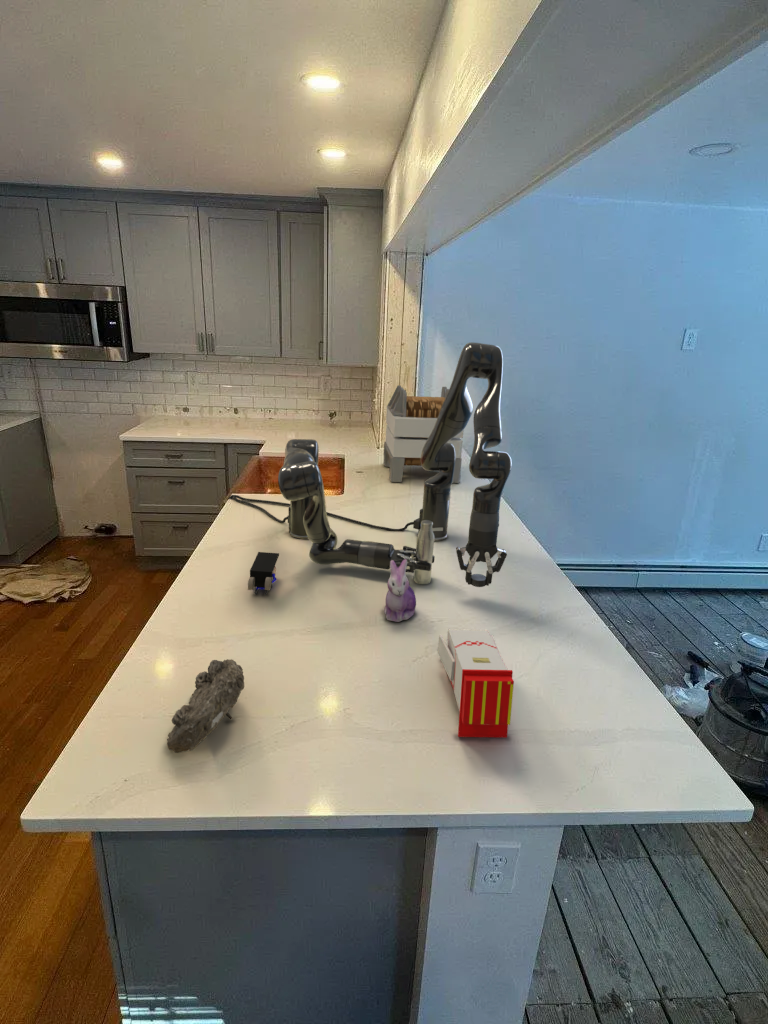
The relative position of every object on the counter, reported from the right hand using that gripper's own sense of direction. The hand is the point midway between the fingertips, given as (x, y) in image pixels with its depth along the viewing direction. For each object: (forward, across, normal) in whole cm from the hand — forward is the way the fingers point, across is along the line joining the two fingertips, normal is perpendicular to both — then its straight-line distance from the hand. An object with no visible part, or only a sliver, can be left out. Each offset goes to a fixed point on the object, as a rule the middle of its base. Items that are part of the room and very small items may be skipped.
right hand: (477, 583), depth 155 cm
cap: (-2, 0, 0) cm, 2 cm away
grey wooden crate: (+4, +15, -125) cm, 126 cm away
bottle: (+5, +15, -10) cm, 18 cm away
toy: (+5, +5, +41) cm, 41 cm away
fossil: (+5, +55, +54) cm, 77 cm away
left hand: (-1, +12, -9) cm, 15 cm away
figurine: (+5, +21, +11) cm, 24 cm away
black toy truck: (+5, +59, 0) cm, 59 cm away
